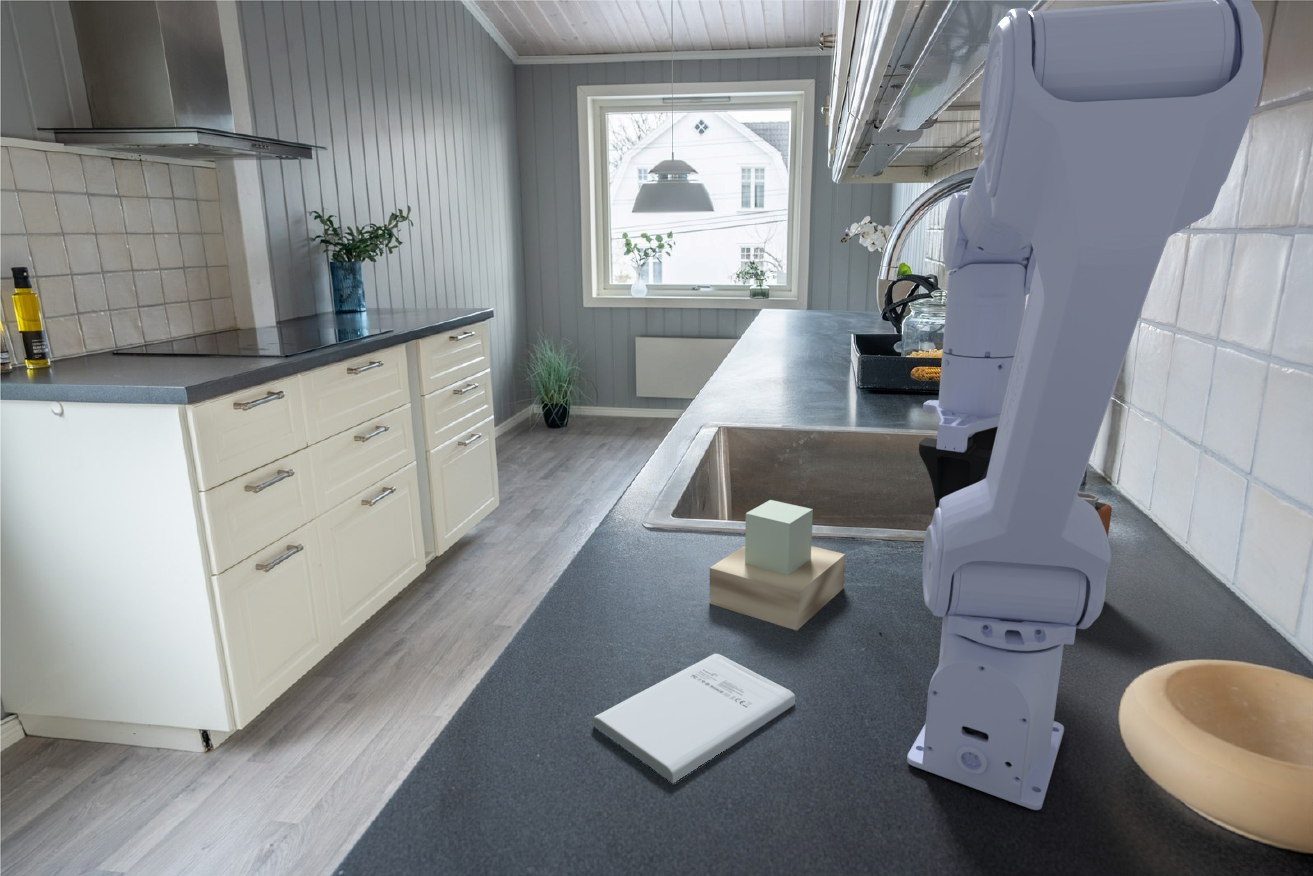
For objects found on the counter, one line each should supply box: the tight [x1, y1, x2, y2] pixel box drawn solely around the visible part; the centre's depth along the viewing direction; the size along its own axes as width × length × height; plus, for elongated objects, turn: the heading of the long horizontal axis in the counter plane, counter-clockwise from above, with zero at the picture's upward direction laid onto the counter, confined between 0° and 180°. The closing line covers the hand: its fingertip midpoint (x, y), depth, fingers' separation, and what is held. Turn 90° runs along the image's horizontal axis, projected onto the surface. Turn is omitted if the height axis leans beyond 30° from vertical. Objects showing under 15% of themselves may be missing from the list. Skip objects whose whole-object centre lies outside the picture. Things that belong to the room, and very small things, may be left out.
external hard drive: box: [593, 653, 796, 783], centre depth 56 cm, size 2×8×12 cm
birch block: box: [709, 544, 846, 632], centre depth 73 cm, size 10×9×4 cm
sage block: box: [744, 499, 814, 576], centre depth 72 cm, size 4×4×5 cm
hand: (965, 514), depth 65 cm, fingers open, 7 cm apart
